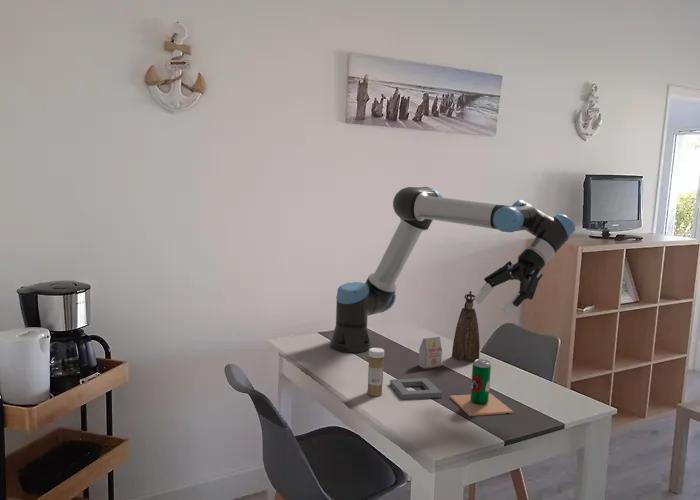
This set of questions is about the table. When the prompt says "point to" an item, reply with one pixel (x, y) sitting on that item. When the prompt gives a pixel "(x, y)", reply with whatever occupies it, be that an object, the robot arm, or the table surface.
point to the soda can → (480, 381)
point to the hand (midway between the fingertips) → (490, 306)
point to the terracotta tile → (475, 409)
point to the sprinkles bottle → (375, 371)
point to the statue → (466, 333)
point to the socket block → (429, 391)
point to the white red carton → (430, 353)
